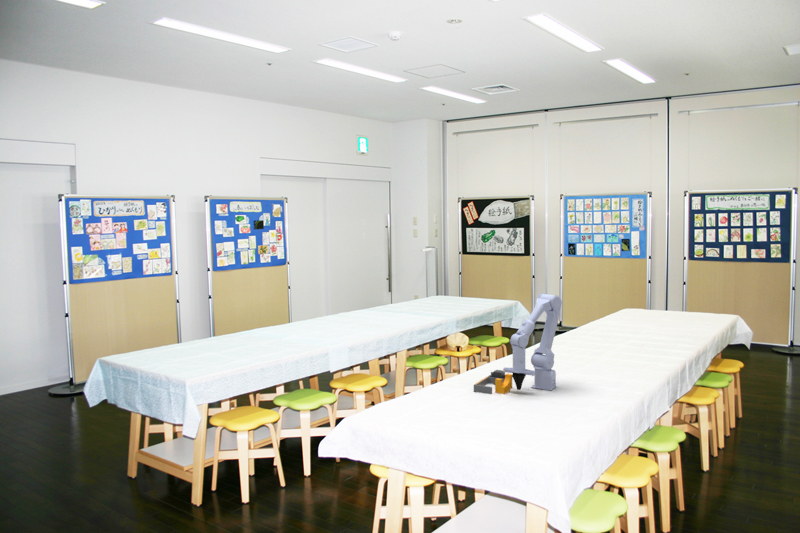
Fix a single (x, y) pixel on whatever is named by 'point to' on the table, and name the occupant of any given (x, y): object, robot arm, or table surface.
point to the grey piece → (490, 379)
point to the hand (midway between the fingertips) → (519, 389)
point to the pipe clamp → (503, 384)
